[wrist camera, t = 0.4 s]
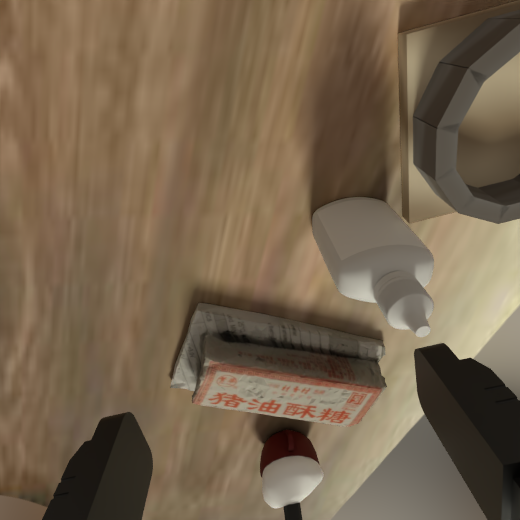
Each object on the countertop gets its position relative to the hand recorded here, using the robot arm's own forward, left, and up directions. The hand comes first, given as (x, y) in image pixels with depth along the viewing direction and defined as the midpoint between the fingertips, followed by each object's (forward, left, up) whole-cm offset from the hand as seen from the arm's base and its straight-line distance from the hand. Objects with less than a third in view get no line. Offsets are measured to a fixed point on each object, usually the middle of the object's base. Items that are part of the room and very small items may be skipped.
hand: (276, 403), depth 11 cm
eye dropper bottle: (+5, +7, -18) cm, 20 cm away
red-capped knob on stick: (+31, -3, -18) cm, 36 cm away
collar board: (0, +17, -18) cm, 24 cm away
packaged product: (+18, -1, -18) cm, 26 cm away
